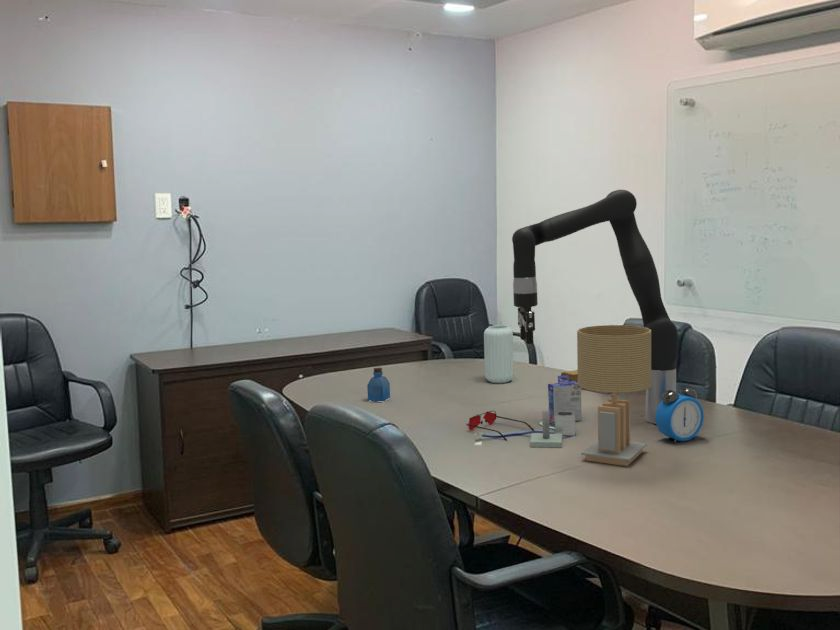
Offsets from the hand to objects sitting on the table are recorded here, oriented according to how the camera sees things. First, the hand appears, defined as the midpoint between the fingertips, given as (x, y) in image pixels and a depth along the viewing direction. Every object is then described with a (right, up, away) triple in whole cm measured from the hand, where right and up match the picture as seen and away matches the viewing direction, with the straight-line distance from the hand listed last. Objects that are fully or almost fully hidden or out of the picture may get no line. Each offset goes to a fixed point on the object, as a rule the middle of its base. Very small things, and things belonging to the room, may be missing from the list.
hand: (526, 341), depth 256 cm
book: (+34, -19, +51) cm, 64 cm away
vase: (-2, -18, +66) cm, 68 cm away
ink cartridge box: (+13, -26, +4) cm, 29 cm away
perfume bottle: (-49, -23, +41) cm, 68 cm away
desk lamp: (+20, -31, -35) cm, 50 cm away
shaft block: (+3, -29, -20) cm, 36 cm away
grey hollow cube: (+10, -28, -10) cm, 31 cm away
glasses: (-9, -28, -6) cm, 30 cm away
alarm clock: (+42, -28, -21) cm, 55 cm away
